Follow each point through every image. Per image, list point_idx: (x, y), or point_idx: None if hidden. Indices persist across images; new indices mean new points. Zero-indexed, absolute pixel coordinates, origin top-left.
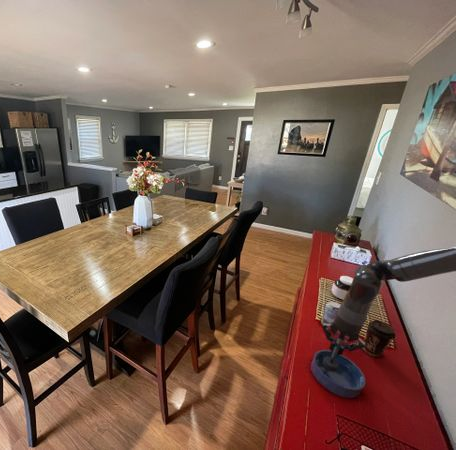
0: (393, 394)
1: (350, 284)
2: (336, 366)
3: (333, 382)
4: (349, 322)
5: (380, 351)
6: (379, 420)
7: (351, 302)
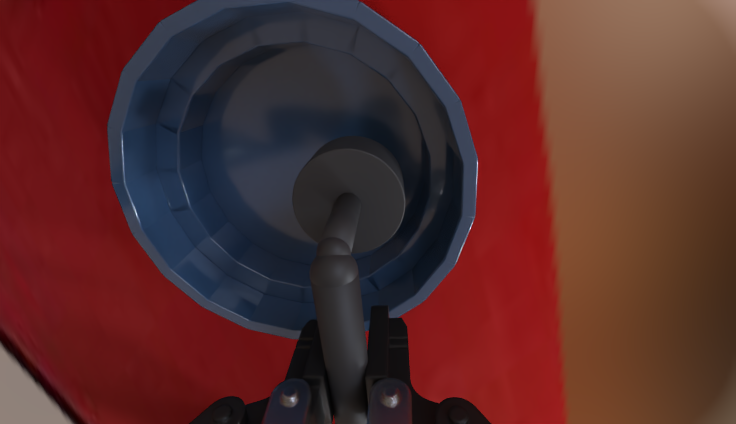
0: (105, 294)
1: None
2: (298, 187)
3: None
4: None
5: None
6: (44, 65)
7: None
